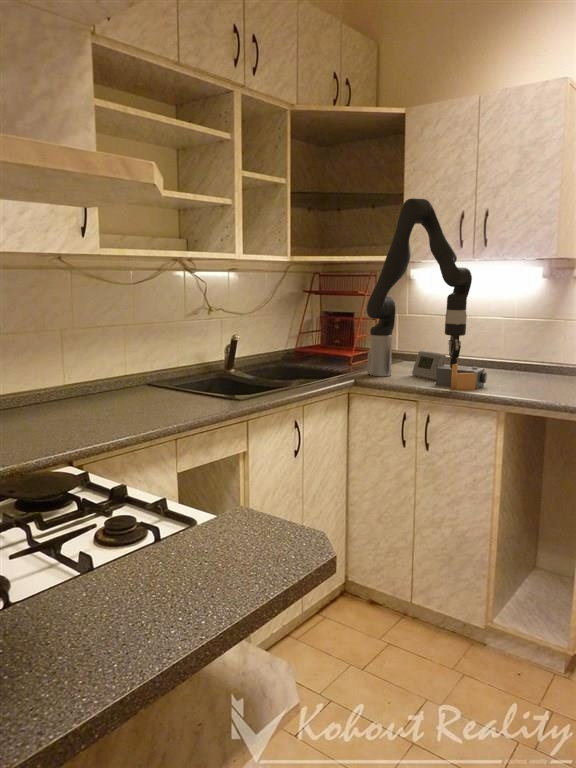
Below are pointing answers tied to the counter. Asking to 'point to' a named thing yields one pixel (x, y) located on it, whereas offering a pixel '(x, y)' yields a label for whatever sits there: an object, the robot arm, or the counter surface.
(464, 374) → the orange flat l-shaped piece
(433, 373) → the digital clock
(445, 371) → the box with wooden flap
